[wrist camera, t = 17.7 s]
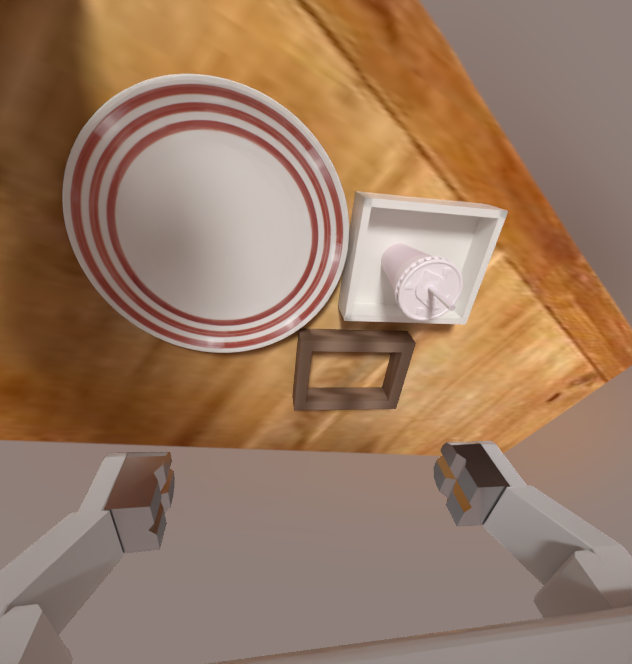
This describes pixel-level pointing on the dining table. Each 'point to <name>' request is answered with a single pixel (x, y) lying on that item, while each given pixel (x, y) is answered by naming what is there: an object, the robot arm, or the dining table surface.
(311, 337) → the socket block
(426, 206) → the tray
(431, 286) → the smoothie
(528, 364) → the dining table surface
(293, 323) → the dinner plate
